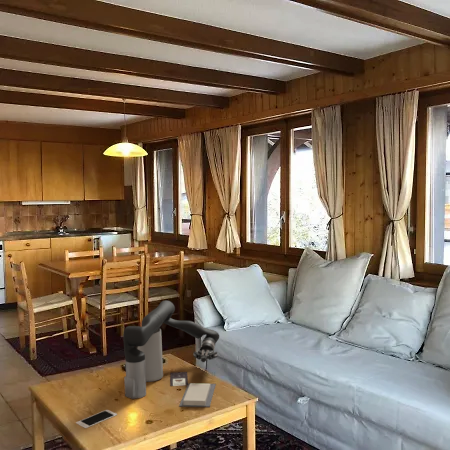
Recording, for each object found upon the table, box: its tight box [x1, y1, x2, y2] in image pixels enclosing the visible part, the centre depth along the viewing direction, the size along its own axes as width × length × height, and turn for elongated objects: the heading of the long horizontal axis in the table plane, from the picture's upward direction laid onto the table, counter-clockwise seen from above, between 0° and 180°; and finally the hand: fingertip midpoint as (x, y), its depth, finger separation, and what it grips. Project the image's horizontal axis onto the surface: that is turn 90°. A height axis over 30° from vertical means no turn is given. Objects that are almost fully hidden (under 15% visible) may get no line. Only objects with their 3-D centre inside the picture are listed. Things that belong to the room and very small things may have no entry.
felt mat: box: [178, 382, 217, 408], centre depth 237 cm, size 26×14×1 cm, turn 175°
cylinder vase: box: [137, 328, 164, 383], centre depth 259 cm, size 12×12×25 cm
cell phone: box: [75, 409, 118, 429], centre depth 214 cm, size 8×16×1 cm, turn 139°
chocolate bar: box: [169, 371, 189, 387], centre depth 257 cm, size 9×1×18 cm
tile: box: [183, 382, 211, 406], centre depth 234 cm, size 2×10×20 cm
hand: (203, 360), depth 250 cm, fingers closed
